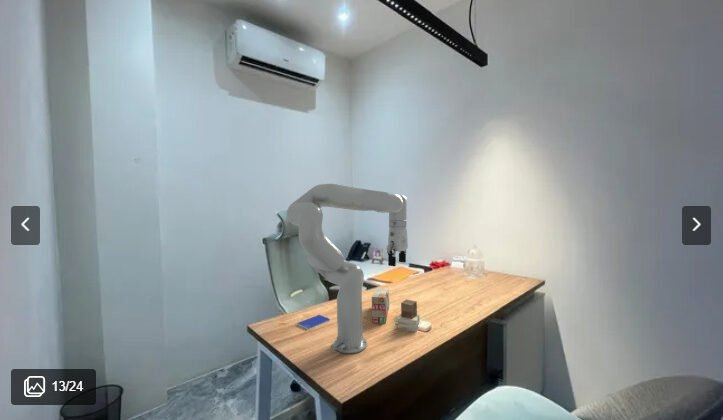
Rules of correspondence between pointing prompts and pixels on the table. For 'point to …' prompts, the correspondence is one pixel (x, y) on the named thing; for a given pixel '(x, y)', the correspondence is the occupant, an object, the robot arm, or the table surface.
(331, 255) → the robot arm
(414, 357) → the table surface
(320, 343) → the table surface
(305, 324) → the hard drive
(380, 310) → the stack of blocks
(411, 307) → the walnut block
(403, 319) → the grey stepped block
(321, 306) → the table surface
